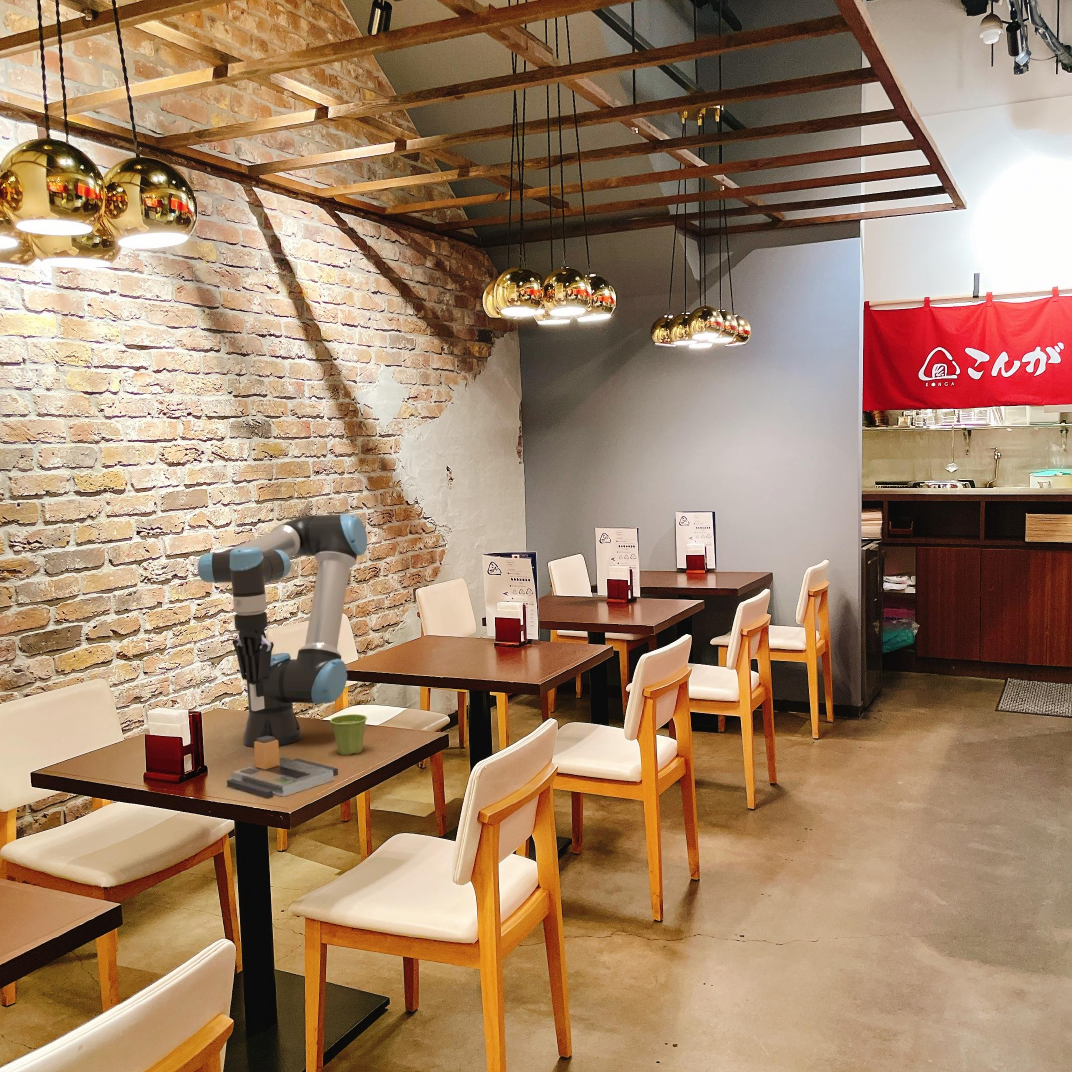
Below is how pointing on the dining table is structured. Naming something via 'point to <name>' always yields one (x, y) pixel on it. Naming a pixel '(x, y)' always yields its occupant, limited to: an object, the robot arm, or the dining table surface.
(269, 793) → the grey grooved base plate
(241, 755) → the dining table surface
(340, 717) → the plant pot
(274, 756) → the tan rectangular block
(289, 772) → the panel
